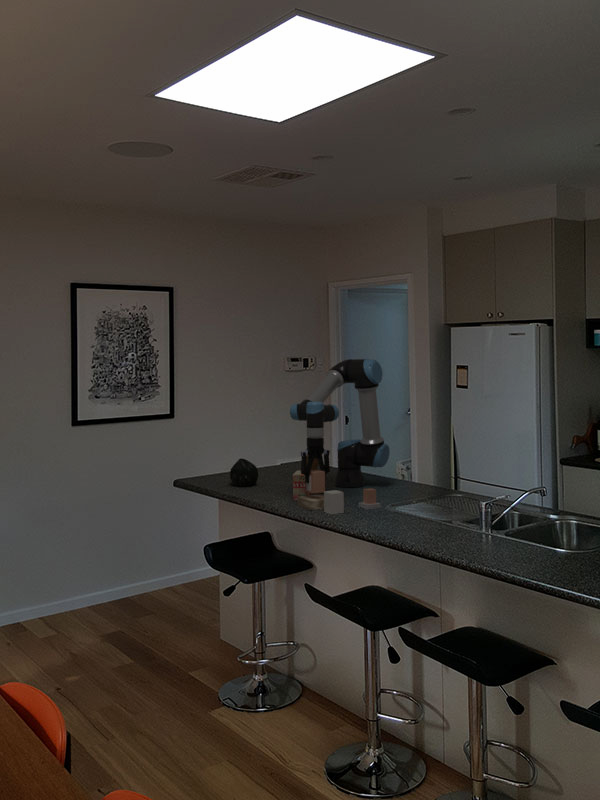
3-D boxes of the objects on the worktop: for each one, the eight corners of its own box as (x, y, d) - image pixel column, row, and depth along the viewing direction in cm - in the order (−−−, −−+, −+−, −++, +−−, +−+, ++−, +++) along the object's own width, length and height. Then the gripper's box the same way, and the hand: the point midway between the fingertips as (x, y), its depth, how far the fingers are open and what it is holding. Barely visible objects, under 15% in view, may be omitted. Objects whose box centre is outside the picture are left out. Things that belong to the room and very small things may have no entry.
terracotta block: (318, 489, 336) (317, 469, 336) (325, 492, 331) (324, 471, 330) (306, 491, 333) (306, 470, 333) (313, 493, 328) (313, 472, 327)
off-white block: (336, 511, 324) (335, 490, 323) (343, 513, 318) (343, 492, 318) (324, 512, 321) (323, 491, 320) (331, 515, 316) (331, 493, 315)
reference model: (371, 505, 334) (371, 487, 334) (381, 508, 328) (380, 489, 328) (358, 507, 331) (358, 488, 331) (367, 509, 325) (367, 491, 324)
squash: (259, 471, 397) (240, 451, 393) (267, 477, 383) (247, 456, 379) (239, 490, 395) (220, 470, 390) (246, 496, 381) (227, 476, 376)
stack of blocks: (300, 492, 368) (300, 467, 367) (313, 492, 367) (312, 467, 366) (292, 501, 347) (292, 474, 346) (306, 501, 346) (306, 474, 345)
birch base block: (320, 502, 341) (320, 494, 341) (334, 507, 330) (334, 498, 330) (297, 505, 335) (297, 496, 335) (310, 510, 324) (310, 501, 324)
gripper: (329, 435, 339) (329, 486, 340) (291, 437, 329) (292, 490, 331) (338, 436, 332) (338, 488, 333) (300, 439, 323) (300, 493, 324)
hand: (315, 489), depth 332 cm, fingers closed on terracotta block, 6 cm apart
